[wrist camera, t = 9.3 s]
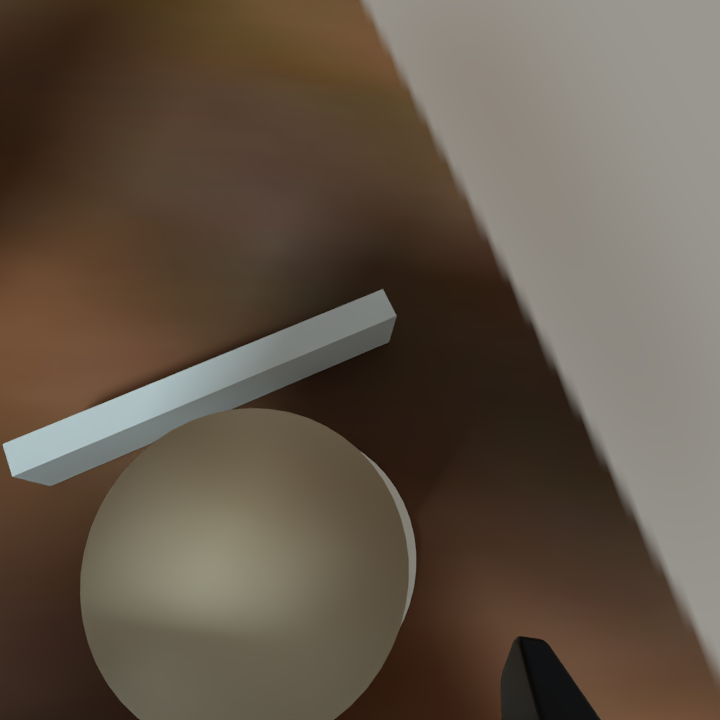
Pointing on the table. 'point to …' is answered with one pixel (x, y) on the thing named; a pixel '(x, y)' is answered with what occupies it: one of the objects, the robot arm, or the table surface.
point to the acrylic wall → (200, 391)
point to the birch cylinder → (244, 572)
